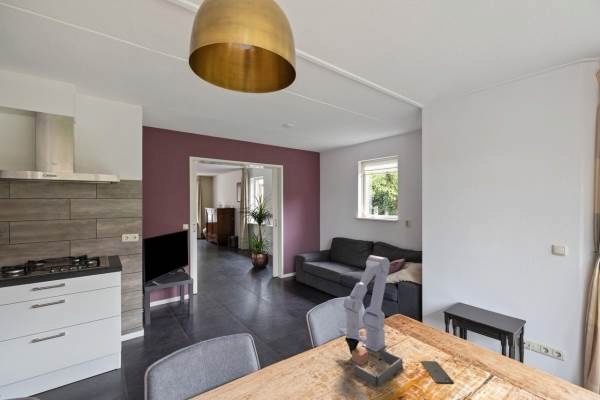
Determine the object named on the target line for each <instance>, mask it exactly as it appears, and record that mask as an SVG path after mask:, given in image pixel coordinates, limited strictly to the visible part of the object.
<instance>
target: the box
mask: <svg viewBox="0 0 600 400" xmlns="http://www.w3.org/2000/svg"><path fill="white" fill-rule="evenodd" d="M378 355H379V358H381V359H383V360H385V361H387V362H389V363H391V365H388V367H386V368H384V370H381V372H380V373H378V374H376V375H375V374H374V373H373V372H370V371H368V370H366V369H365V368H362V367H361V366H359V365H357V364H354V366H353V367H354V368H353V370H354V371H353V375H356V376H357V377H359V378H361V379H362V380H364V381H366V382H368V383H369V384H371V385H373V386H375V387H376V388H378V387H379V386H380V385H381V384H383V383H384V382H385V381H387V380H388V379H389V378H390V377H392V376H393V375H394V374H395V373H397V372H398V371H399V370H400V369H401V368H403V358H402V357H400V356H398V355H395V354H393V353H391V352H389V351H387V350H384V349H383V348H382V349H379V351H378Z"/></svg>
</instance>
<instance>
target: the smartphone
mask: <svg viewBox="0 0 600 400" xmlns="http://www.w3.org/2000/svg"><path fill="white" fill-rule="evenodd" d="M420 363H421V365H422V366H423V368H424V369H425V371H426V372H427V373H428V375H429V376H430V377H431V379H432V380H433V381H434V383H436V384H440V385H453V384H454V385H455V381H453V379H452V378H451V377H450V375H449V374H448V373H447V372H446V371H445V369H444V368H443V367H442V365H440V363H438V361H434V360H422V361H420Z"/></svg>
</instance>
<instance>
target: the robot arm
mask: <svg viewBox="0 0 600 400" xmlns="http://www.w3.org/2000/svg"><path fill="white" fill-rule="evenodd" d="M365 265H366V268H365V269H364V271H363V274H362V277H361V279H360V281H359V282H356V284H355V286H354V287H353V289H352V291H351V292H350V295H348V296H346V298H345V299H344V301H343V307H344V309H345V313H346V319H345V320H346V325H345V327H346V328H345V327H340V328H338V329H339V332H338V333H339V334H343V335H345V338H344V339H345V340H344V341H345V342H346V344H347V346H348V349H349V353H350V355H352V351H353V350H355V349H356V348H358V345H359V343H360V342H361V343H362V345H361V346H362V347H364V348H367V349H369V350H371V351H373V352H375V353H377V352H379V349H382V350H383V348H385V347H386V346H387V344H386V342H385V341H386V340H385V338H386V335H385V334H386V333H385V324H386V320H385V319H386V318H385V317H386V315H385V313H384V312H383V311H382V306H383V305H382V304H383V301H384V294H385V289H386V284H387V277H388V275H389V271H390V267H391V263H390V261H389V258H388V257H383V256H377V255H372V254H370V255H368V257H367V260H366V261H365ZM374 275H375V278H374V279H375V280H374V284H373V289H372V295H371V300H370V304H369V306H368V307H366V308H365V309H364V310H365V311H364V313H363V315H362V317H361V321H362V324H364V327H365V336H364V335H362V334H361V333H360V311H361V309H362V307H363V302H364V301H363V299H364V297H365V295H366V293H367V292H368V287H367V286H368V284H369V283H370V281H371V280H372V279H373V276H374Z"/></svg>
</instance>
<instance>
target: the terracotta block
mask: <svg viewBox="0 0 600 400" xmlns="http://www.w3.org/2000/svg"><path fill="white" fill-rule="evenodd" d="M368 354H369V352H368V351H367V350H365V349H363V348H361V347H358V346H357V348H356V349H355V350H353V351H352V354H351V361H353V362H355V363H357V364H358V365H360V366H362V365H364V364H365V363H367V362H368V359H369V355H368Z"/></svg>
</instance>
